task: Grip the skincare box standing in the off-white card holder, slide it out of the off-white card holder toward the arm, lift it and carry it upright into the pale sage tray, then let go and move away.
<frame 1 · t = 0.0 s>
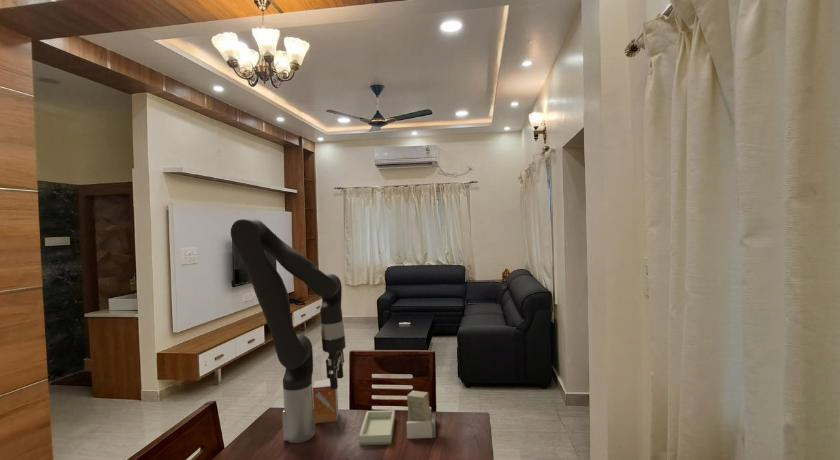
hand: (337, 383, 130), 17 cm above the table, tool pointing down, fingers open, 8 cm apart
off-white card holder: (419, 429, 130), on the table
tray: (378, 431, 131), on the table
skincare box: (419, 430, 130), on the table
small box: (326, 418, 141), on the table
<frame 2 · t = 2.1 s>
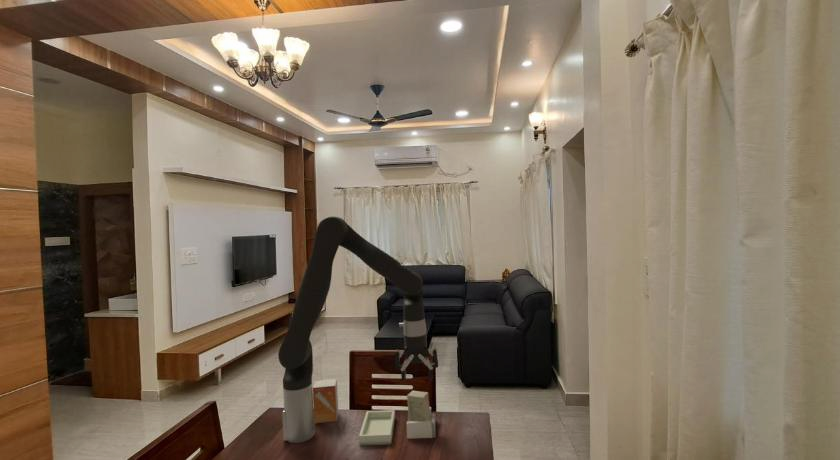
hand: (417, 380, 130), 17 cm above the table, tool pointing down, fingers open, 8 cm apart
nothing on the table moved.
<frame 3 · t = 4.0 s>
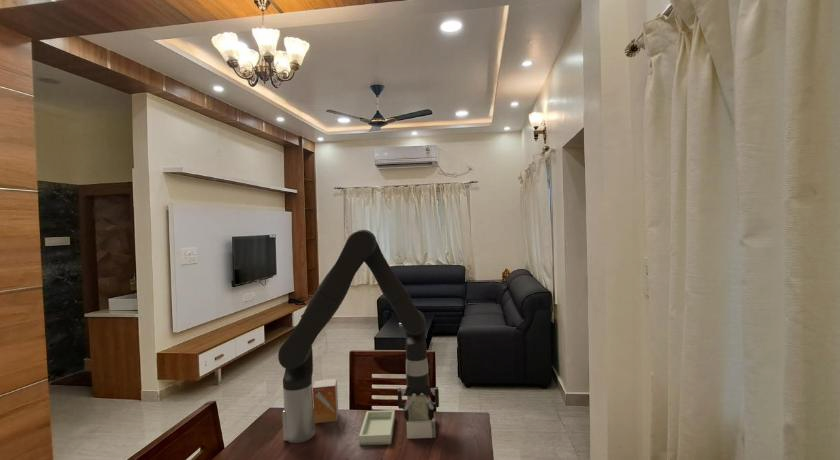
hand: (419, 419, 130), 3 cm above the table, tool pointing down, fingers closed on skincare box, 7 cm apart
skincare box: (419, 430, 130), on the table, touching gripper
everything else where it was.
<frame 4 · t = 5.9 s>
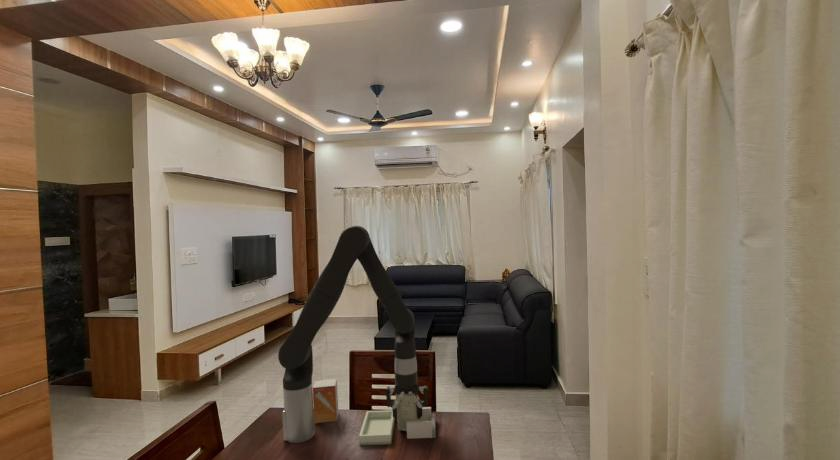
hand: (407, 417, 130), 4 cm above the table, tool pointing down, fingers closed on skincare box, 7 cm apart
skincare box: (408, 428, 131), on the table, touching gripper
everything else where it was.
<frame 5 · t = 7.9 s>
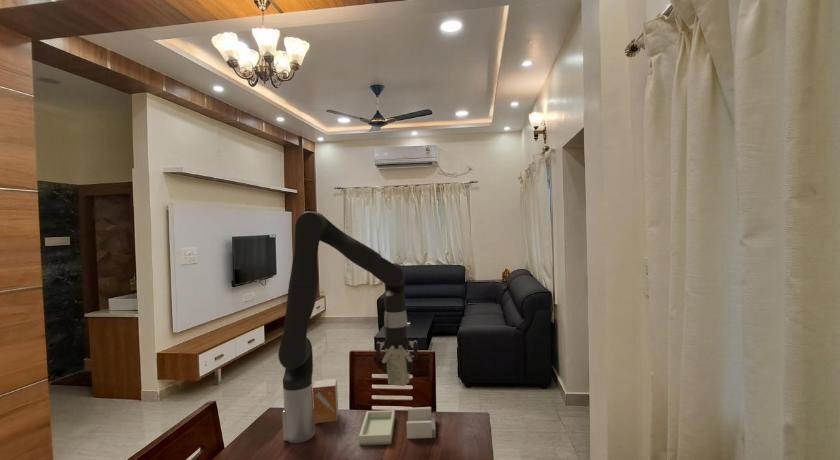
hand: (397, 372, 130), 20 cm above the table, tool pointing down, fingers closed on skincare box, 7 cm apart
skincare box: (398, 383, 130), point 16 cm above the table, touching gripper
everything else where it was.
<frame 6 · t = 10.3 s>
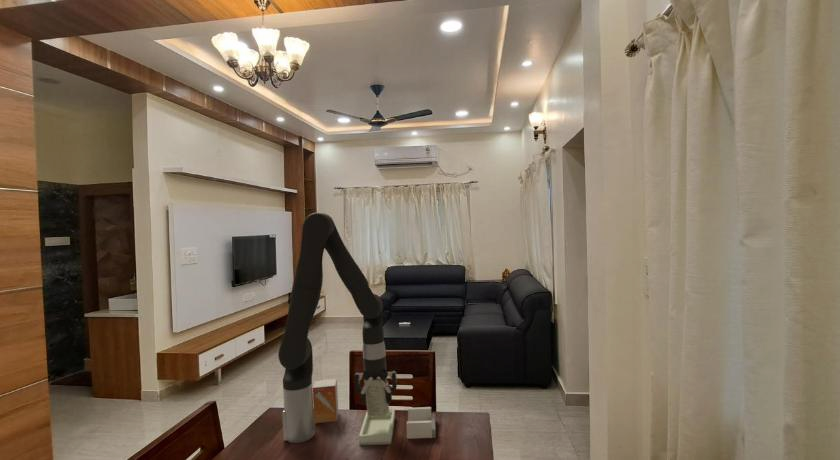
hand: (377, 403, 130), 9 cm above the table, tool pointing down, fingers closed on skincare box, 7 cm apart
skincare box: (378, 414, 131), point 6 cm above the table, touching gripper
everything else where it was.
when the fingers open (6 cm above the table, at t = 12.1 s): skincare box drops 1 cm, resting on tray.
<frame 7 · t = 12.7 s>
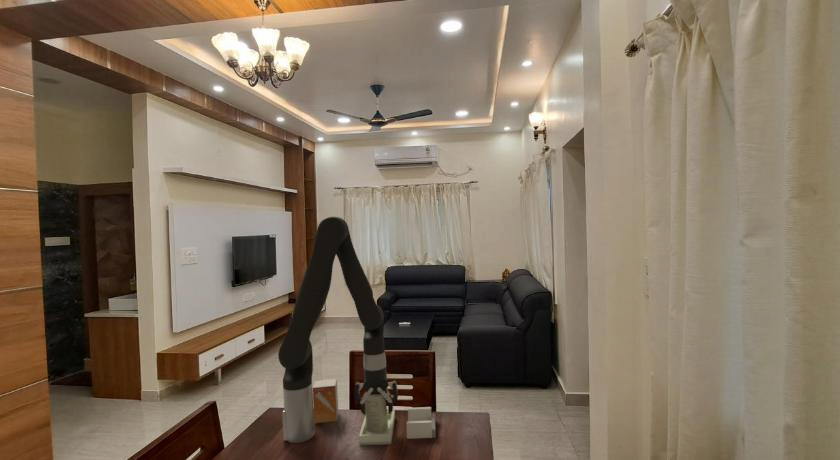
hand: (377, 413, 131), 6 cm above the table, tool pointing down, fingers open, 8 cm apart
skincare box: (377, 429, 131), point 1 cm above the table, touching tray
everything else where it was.
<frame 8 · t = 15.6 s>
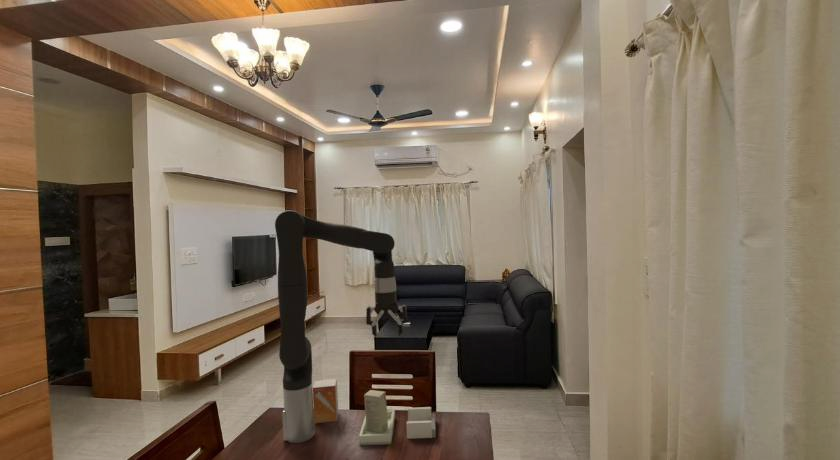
hand: (387, 335, 137), 30 cm above the table, tool pointing down, fingers open, 8 cm apart
nothing on the table moved.
at the end: skincare box inside the target area on the tray (0.4 cm from its centre), point 0.6 cm above the tray's base; skincare box tilted 0°; the gripper is holding nothing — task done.
